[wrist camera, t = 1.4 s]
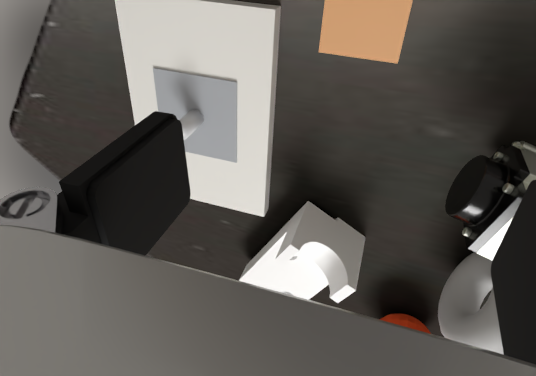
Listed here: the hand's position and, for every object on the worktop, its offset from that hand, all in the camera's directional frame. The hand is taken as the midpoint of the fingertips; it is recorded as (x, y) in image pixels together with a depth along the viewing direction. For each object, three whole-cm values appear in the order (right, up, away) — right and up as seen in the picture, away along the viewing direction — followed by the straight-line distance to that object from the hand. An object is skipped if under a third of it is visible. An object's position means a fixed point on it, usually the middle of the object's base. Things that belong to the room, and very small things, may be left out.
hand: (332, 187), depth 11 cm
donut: (+18, -7, +27) cm, 33 cm away
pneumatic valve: (+19, +2, +20) cm, 28 cm away
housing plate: (-8, +7, +27) cm, 29 cm away
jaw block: (+6, +14, +17) cm, 23 cm away
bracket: (+2, -7, +33) cm, 34 cm away
